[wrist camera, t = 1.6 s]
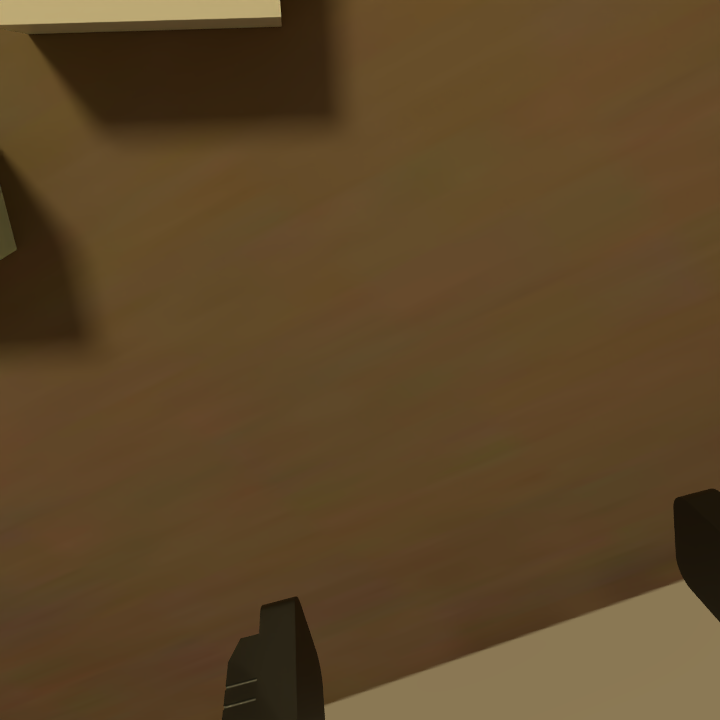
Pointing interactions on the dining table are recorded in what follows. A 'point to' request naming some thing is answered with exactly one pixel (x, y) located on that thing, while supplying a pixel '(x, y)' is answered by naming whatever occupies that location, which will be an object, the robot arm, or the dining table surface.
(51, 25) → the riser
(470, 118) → the dining table surface
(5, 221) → the cube
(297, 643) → the robot arm
